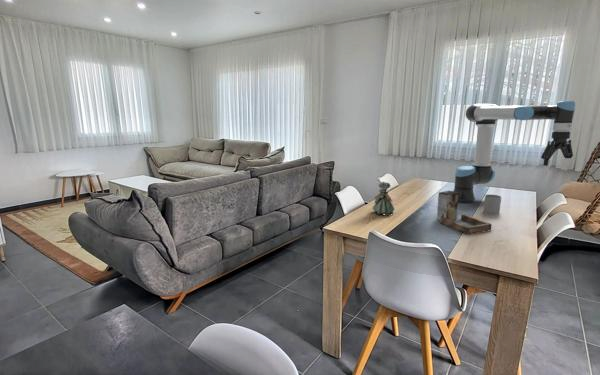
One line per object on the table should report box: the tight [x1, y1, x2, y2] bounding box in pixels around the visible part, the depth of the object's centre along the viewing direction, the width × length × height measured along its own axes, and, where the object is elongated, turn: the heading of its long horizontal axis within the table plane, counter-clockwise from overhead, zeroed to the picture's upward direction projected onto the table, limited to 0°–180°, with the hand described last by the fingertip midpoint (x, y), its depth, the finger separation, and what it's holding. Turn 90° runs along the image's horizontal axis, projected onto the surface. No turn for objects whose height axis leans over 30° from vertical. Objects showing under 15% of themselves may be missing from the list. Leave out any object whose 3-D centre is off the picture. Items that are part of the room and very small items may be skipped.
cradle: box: [439, 213, 492, 235], centre depth 169 cm, size 18×16×4 cm
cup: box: [483, 194, 502, 215], centre depth 192 cm, size 8×8×10 cm
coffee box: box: [436, 190, 459, 221], centre depth 179 cm, size 9×6×16 cm
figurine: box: [372, 181, 395, 215], centre depth 193 cm, size 14×14×20 cm
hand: (554, 170), depth 172 cm, fingers open, 13 cm apart
